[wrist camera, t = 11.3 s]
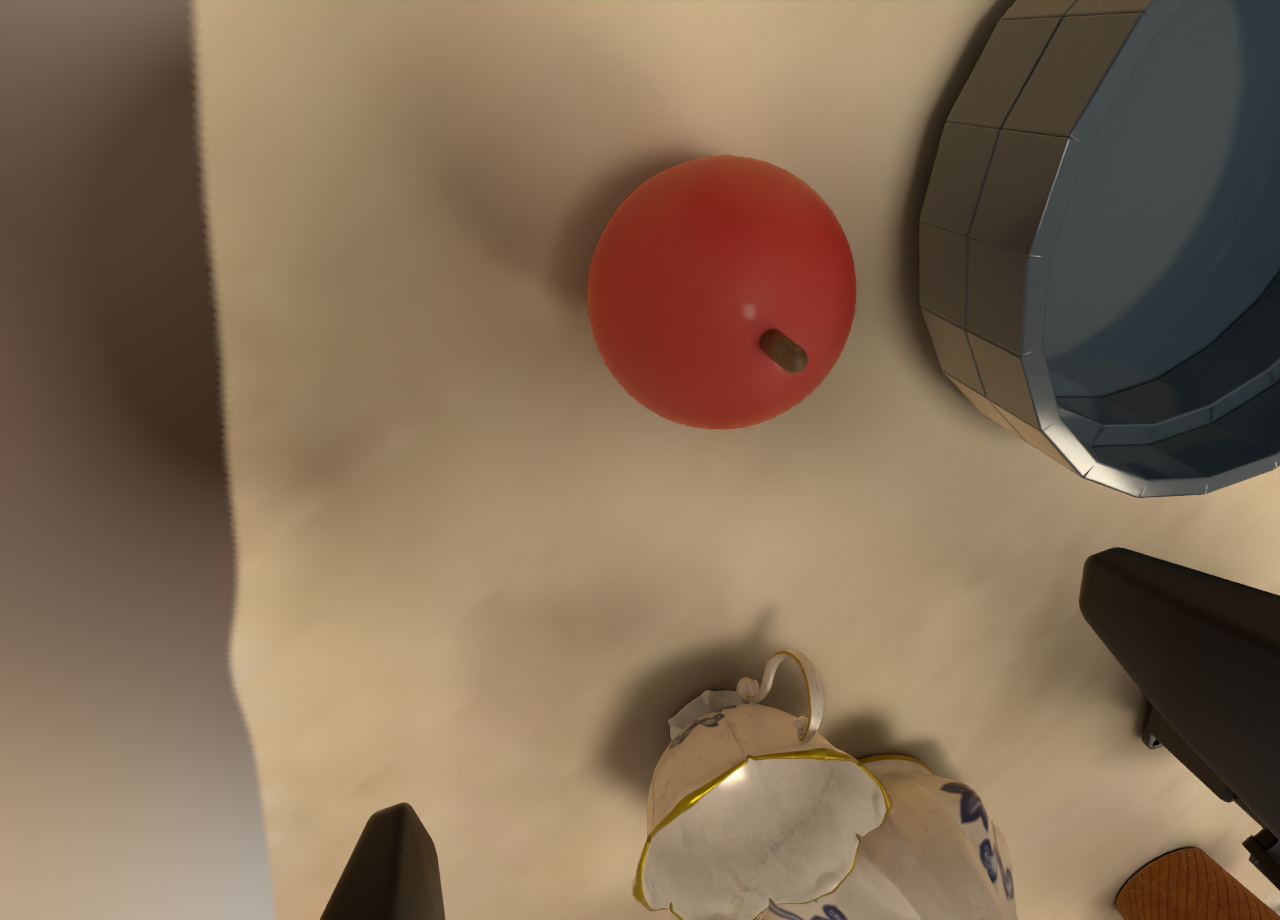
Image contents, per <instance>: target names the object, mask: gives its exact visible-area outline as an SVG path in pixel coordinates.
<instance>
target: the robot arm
mask: <svg viewBox="0 0 1280 920" xmlns="http://www.w3.org/2000/svg"><path fill="white" fill-rule="evenodd" d="M1079 606H1080V610H1081V612H1082V615H1083V616H1084V618H1085V620H1086V621H1087V623H1088V624H1089V625H1090V626H1091V628H1092V629H1093V630H1094V631H1095V633H1096V634H1097V635H1098V637H1099V638H1100V639H1101V640H1102V642H1103V643H1104V644H1105V645H1106V647H1107V648H1108V649H1109V650H1110V652H1111V653H1112V654H1113V656H1114V657H1115V658H1116V659H1117V661H1118V662H1119V663H1120V664H1121V666H1122V667H1123V668H1124V669H1125V671H1126V672H1127V673H1128V674H1129V676H1130V677H1131V678H1132V680H1133V681H1134V682H1135V683H1136V685H1137V686H1138V687H1139V688H1140V690H1141V691H1142V692H1143V693H1144V695H1145V696H1146V697H1147V699H1148V700H1149V701H1150V705H1149V710H1148V714H1147V718H1146V722H1145V727H1144V731H1143V735H1142V742H1143V743H1144V744H1145V745H1146V746H1147V747H1148V748H1149V749H1155V748H1158V747H1160V746H1164V747H1165V748H1166V749H1168V750H1169V751H1170V752H1171V753H1172V754H1173V755H1174V756H1175V757H1176V758H1177V759H1178V760H1179V761H1180V762H1181V763H1182V764H1184V765H1185V766H1186V767H1187V768H1188V769H1189V770H1190V771H1191V772H1192V773H1193V774H1194V775H1195V776H1196V777H1197V778H1199V779H1200V780H1201V781H1202V782H1203V783H1204V784H1205V785H1206V786H1207V787H1208V788H1209V789H1210V790H1211V791H1212V792H1213V793H1215V794H1216V795H1217V796H1218V797H1219V798H1220V799H1221V800H1223V801H1225V802H1232V801H1235V802H1236V803H1237V804H1238V805H1239V806H1240V807H1241V808H1242V809H1243V810H1244V811H1245V812H1246V813H1248V814H1249V815H1250V816H1251V817H1252V818H1253V819H1254V820H1255V821H1256V822H1257V823H1258V824H1259V825H1261V826H1262V827H1263V829H1262V830H1261V831H1260V832H1259V833H1257V834H1256V835H1255V836H1253V835H1251V836H1250V837H1248V838H1247V839H1246V840H1245V841H1244V842H1243V843H1242V845H1243V846H1244V847H1245V848H1246V849H1247V850H1248V851H1249V853H1250V854H1251V855H1250V858H1249V861H1250V862H1251V863H1252V864H1253V865H1254V866H1255V867H1256V868H1257V869H1258V870H1259V871H1261V872H1262V873H1263V874H1264V875H1265V876H1266V877H1267V878H1268V879H1269V880H1270V881H1271V882H1272V883H1273V884H1274V885H1275V886H1276V887H1277V888H1278V889H1279V890H1280V596H1279V595H1276V594H1272V593H1269V592H1266V591H1263V590H1259V589H1256V588H1253V587H1249V586H1246V585H1243V584H1240V583H1236V582H1233V581H1230V580H1227V579H1223V578H1220V577H1217V576H1214V575H1210V574H1207V573H1204V572H1200V571H1197V570H1194V569H1191V568H1187V567H1184V566H1181V565H1178V564H1174V563H1171V562H1168V561H1164V560H1161V559H1158V558H1155V557H1151V556H1148V555H1145V554H1142V553H1138V552H1135V551H1132V550H1128V549H1125V548H1119V547H1117V548H1111V549H1108V550H1105V551H1102V552H1099V553H1096V554H1094V555H1091V556H1089V557H1088V558H1087V560H1086V561H1085V563H1084V568H1083V575H1082V582H1081V589H1080V596H1079ZM320 920H445V913H444V905H443V897H442V889H441V881H440V873H439V865H438V858H437V853H436V849H435V846H434V843H433V841H432V839H431V837H430V835H429V834H428V832H427V831H426V829H425V827H424V826H423V824H422V822H421V821H420V819H419V817H418V816H417V814H416V813H415V811H414V809H413V808H412V807H411V806H410V805H409V804H408V803H405V802H404V803H399V804H396V805H394V806H391V807H388V808H385V809H383V810H380V811H377V812H376V813H374V814H373V815H372V816H371V817H370V819H369V820H368V822H367V824H366V826H365V828H364V830H363V832H362V834H361V836H360V838H359V840H358V842H357V844H356V846H355V848H354V851H353V853H352V855H351V857H350V859H349V861H348V863H347V865H346V867H345V869H344V871H343V873H342V875H341V877H340V879H339V881H338V883H337V885H336V887H335V890H334V892H333V894H332V896H331V898H330V900H329V902H328V904H327V906H326V908H325V910H324V912H323V914H322V916H321V918H320Z"/></svg>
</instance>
